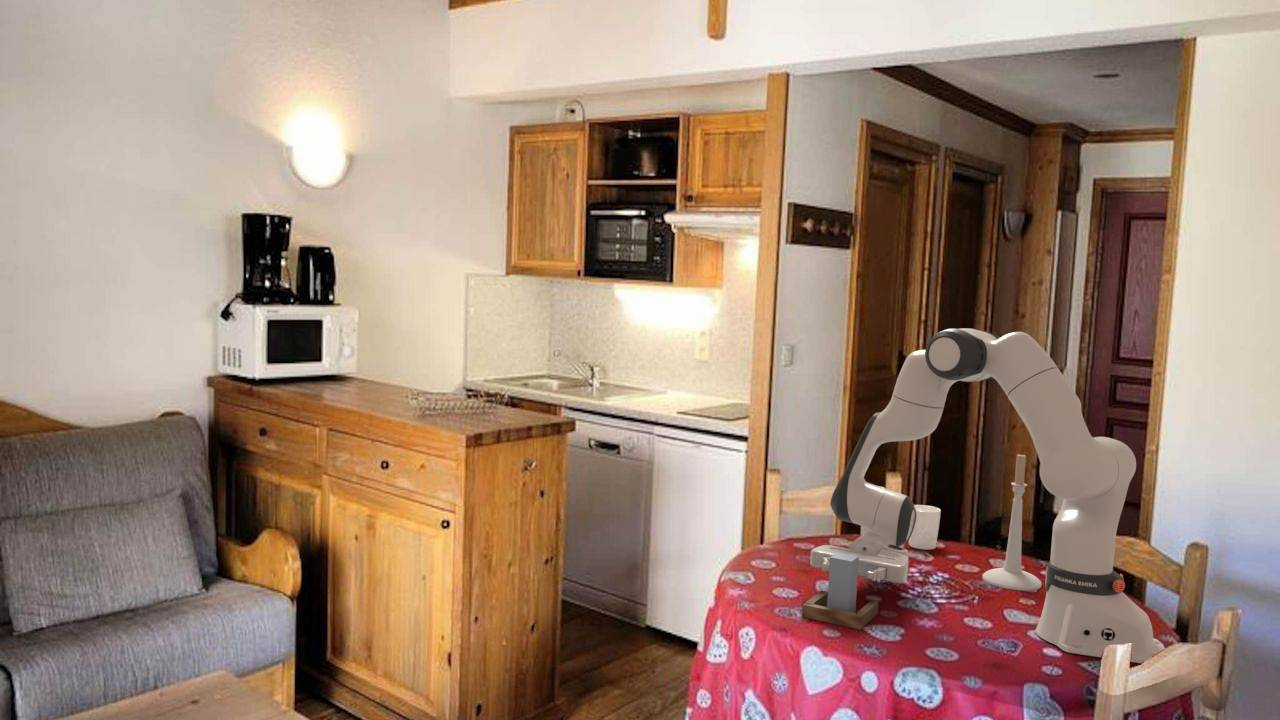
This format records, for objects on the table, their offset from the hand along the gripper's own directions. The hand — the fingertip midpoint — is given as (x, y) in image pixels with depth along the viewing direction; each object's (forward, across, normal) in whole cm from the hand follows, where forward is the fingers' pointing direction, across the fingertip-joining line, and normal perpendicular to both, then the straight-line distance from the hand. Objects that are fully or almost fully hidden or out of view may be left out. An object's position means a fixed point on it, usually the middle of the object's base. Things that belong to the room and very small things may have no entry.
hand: (847, 572), depth 200 cm
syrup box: (-57, -12, +8) cm, 59 cm away
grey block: (+3, 0, +8) cm, 9 cm away
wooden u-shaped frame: (+3, 0, +8) cm, 9 cm away
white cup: (-62, 0, +8) cm, 63 cm away
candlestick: (-44, +25, +8) cm, 51 cm away
